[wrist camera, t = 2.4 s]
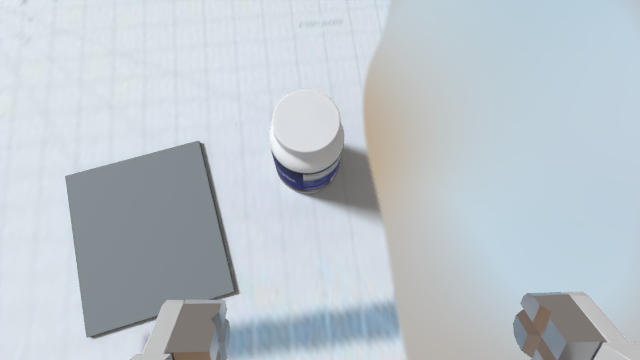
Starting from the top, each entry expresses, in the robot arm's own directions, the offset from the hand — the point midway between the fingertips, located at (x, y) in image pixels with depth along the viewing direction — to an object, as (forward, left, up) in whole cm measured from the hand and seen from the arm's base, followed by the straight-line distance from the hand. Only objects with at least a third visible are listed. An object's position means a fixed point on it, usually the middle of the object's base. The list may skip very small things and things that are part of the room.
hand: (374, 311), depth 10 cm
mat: (+10, +14, -23) cm, 28 cm away
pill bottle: (+12, -1, -23) cm, 26 cm away
